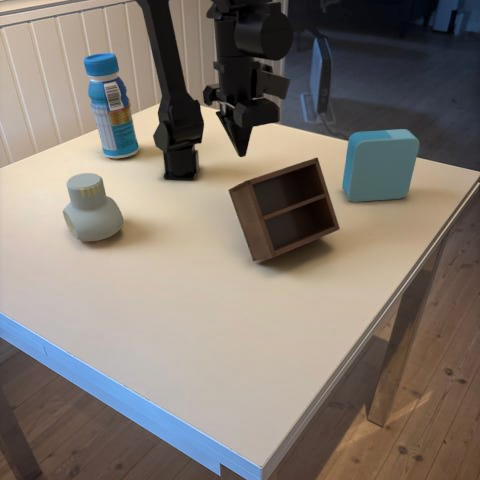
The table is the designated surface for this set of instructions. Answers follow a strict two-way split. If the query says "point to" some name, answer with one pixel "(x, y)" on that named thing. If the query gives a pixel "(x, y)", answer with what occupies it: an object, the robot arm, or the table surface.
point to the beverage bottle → (110, 106)
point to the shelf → (284, 209)
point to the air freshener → (91, 209)
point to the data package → (379, 165)
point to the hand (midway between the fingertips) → (242, 156)
